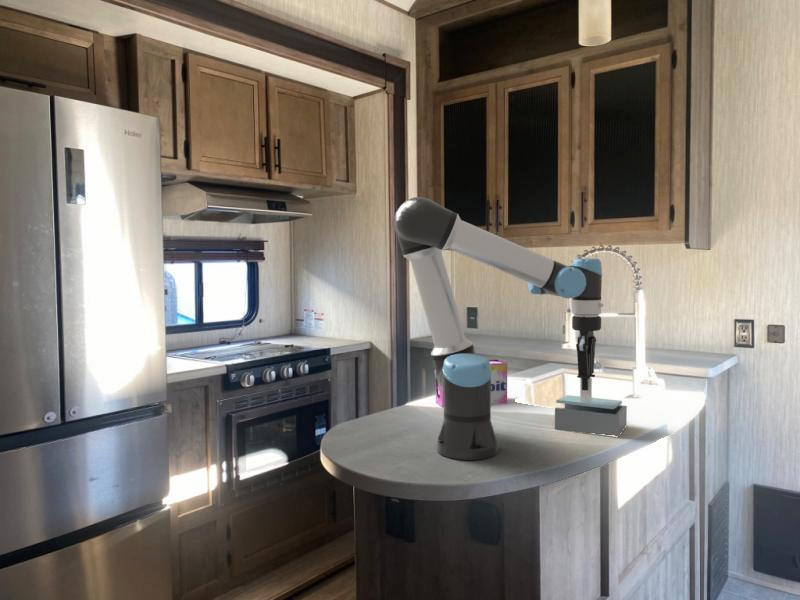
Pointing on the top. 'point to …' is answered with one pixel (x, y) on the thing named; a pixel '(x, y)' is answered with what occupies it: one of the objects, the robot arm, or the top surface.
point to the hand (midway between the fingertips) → (585, 401)
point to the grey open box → (591, 419)
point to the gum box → (497, 384)
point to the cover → (594, 403)
